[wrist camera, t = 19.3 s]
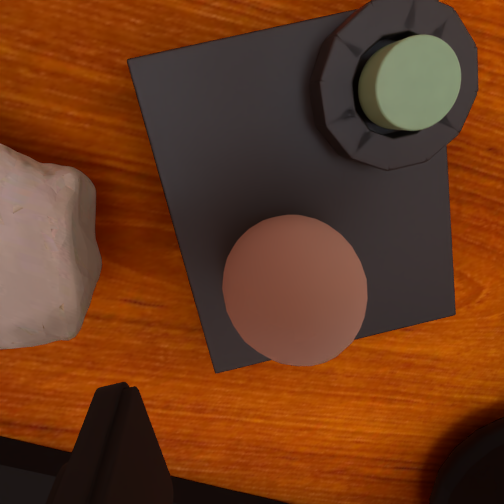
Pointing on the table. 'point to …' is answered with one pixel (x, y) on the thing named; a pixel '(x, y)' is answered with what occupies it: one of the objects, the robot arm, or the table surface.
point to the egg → (295, 290)
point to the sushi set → (51, 460)
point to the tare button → (410, 83)
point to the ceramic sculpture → (44, 250)
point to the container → (473, 470)
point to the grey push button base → (306, 158)
